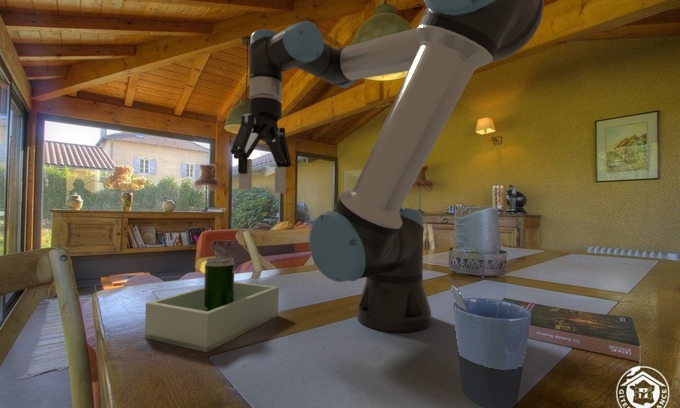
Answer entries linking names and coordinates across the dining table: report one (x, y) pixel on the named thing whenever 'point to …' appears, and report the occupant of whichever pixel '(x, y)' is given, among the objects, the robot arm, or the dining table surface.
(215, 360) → the dining table surface
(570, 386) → the dining table surface
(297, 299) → the dining table surface
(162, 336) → the box
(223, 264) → the beer can
